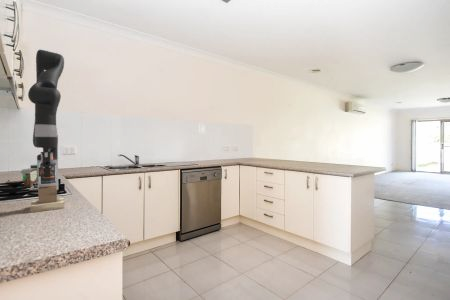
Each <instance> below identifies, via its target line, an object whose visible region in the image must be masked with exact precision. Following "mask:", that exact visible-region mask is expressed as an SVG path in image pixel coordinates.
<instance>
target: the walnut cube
mask: <svg viewBox="0 0 450 300" xmlns="http://www.w3.org/2000/svg"><path fill="white" fill-rule="evenodd" d="M37 191H38V194H37V195H38V200H39V204H42V203H50V202H57V198H58V194H57V193H58V190H57V185H53V186H41V187H39V188H38V187H37Z"/></svg>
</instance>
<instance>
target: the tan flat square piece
mask: <svg viewBox="0 0 450 300" xmlns="http://www.w3.org/2000/svg"><path fill="white" fill-rule="evenodd" d="M29 206H30V207H29V208H30V209H29V212H30V213H38V212H43V211H52V210H60V209H61V210H62V209H64V208H65V198H64V197H57V202H50V203H42V204H39V199H38V200H37V199H36V200H32V201H31V204H30V205H29Z"/></svg>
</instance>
